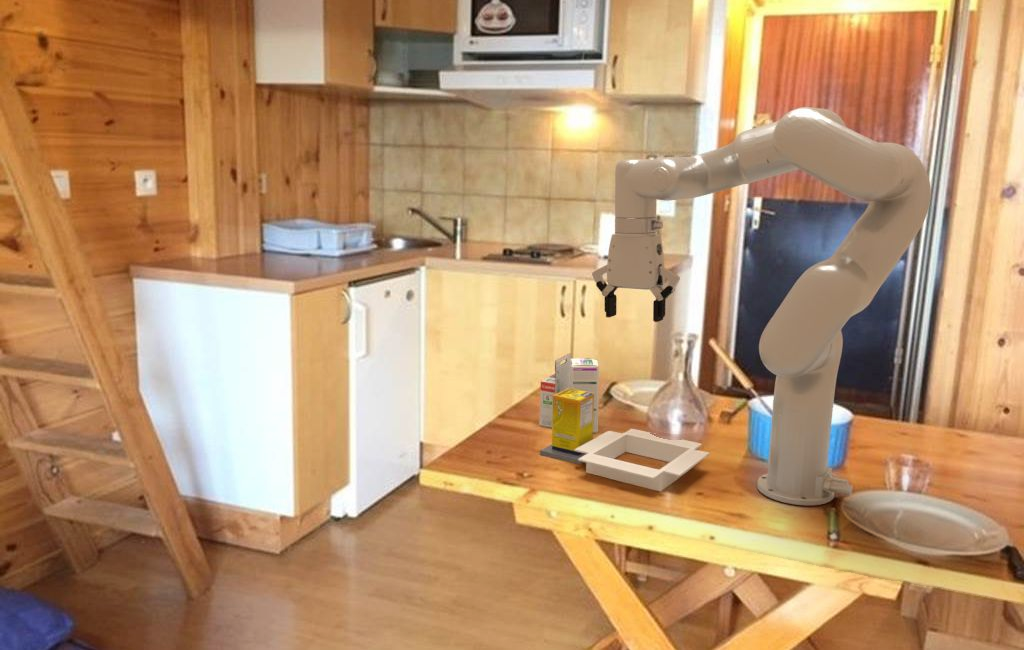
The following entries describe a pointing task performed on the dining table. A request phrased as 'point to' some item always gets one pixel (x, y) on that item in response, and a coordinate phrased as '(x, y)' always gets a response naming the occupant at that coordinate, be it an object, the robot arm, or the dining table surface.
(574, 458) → the coaster
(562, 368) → the ink box
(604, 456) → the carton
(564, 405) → the supplement box
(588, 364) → the syrup box
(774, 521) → the dining table surface
